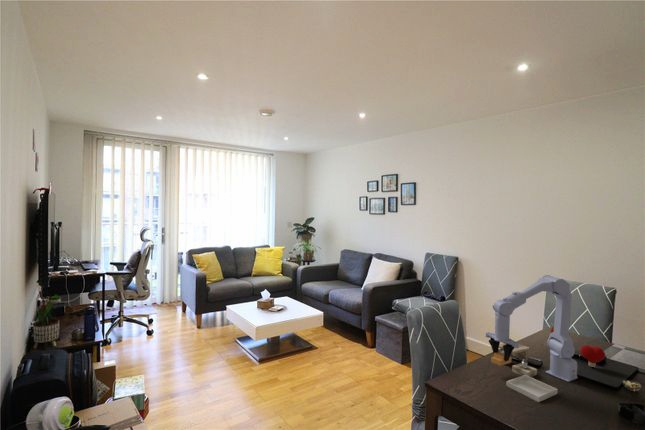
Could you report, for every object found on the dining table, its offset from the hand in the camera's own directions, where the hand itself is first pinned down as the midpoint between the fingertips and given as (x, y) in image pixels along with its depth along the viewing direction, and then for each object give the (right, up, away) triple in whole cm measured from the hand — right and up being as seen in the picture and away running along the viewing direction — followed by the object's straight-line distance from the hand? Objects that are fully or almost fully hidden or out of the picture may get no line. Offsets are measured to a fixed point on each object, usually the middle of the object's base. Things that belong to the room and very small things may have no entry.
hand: (501, 358), depth 151 cm
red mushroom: (+47, -8, +9) cm, 49 cm away
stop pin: (+11, -7, +2) cm, 14 cm away
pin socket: (+11, -7, +2) cm, 14 cm away
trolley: (+12, -7, +13) cm, 19 cm away
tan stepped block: (0, -2, 0) cm, 2 cm away
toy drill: (+46, -8, +28) cm, 55 cm away
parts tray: (+6, -8, -13) cm, 16 cm away
